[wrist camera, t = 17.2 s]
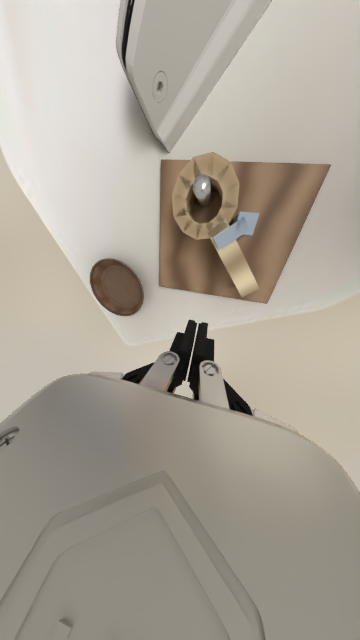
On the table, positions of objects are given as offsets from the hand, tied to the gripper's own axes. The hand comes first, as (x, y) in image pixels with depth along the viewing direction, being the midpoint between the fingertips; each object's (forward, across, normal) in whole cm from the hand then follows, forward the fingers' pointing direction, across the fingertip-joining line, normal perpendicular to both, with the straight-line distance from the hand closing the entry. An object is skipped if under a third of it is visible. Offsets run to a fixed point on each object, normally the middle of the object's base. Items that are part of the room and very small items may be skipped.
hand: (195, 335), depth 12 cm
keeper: (+22, -2, -8) cm, 24 cm away
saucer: (+22, +22, +6) cm, 32 cm away
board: (+22, -1, -7) cm, 23 cm away
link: (+21, -1, -8) cm, 22 cm away
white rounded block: (+22, +7, -27) cm, 36 cm away
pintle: (+22, +3, -13) cm, 26 cm away
